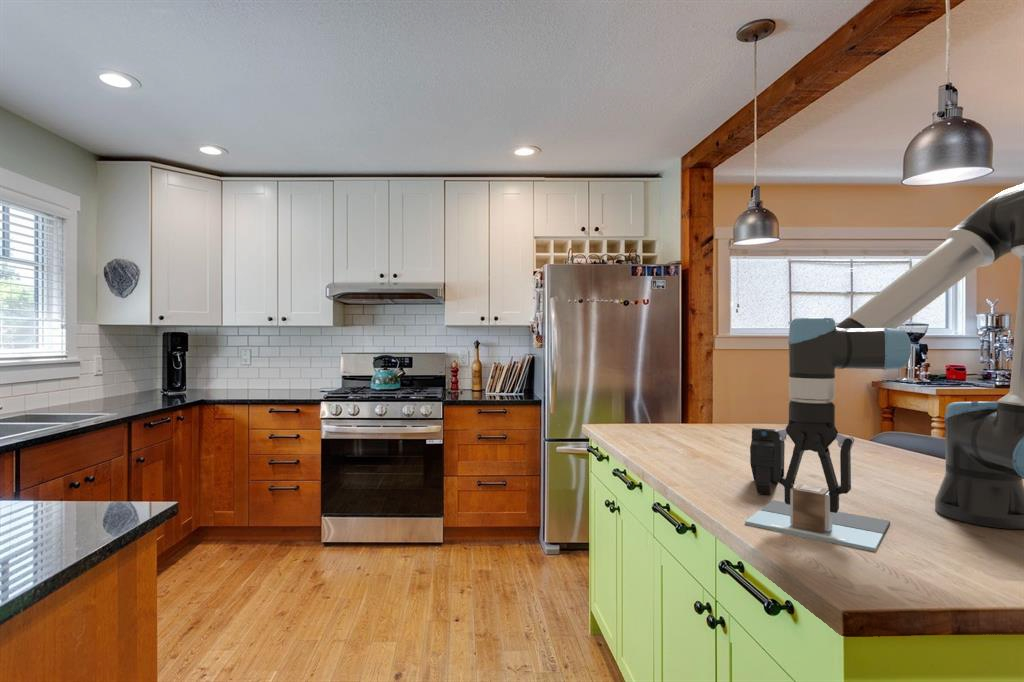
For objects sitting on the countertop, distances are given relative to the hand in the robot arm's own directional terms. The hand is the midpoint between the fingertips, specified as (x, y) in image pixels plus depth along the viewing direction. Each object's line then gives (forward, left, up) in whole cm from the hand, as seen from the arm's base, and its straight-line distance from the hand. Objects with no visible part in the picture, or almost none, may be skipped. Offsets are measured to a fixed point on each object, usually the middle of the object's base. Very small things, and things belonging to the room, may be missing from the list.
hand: (811, 525), depth 101 cm
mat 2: (0, 0, -1) cm, 1 cm away
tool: (+16, -27, -1) cm, 31 cm away
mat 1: (0, -10, -1) cm, 10 cm away
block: (0, 0, 0) cm, 0 cm away
